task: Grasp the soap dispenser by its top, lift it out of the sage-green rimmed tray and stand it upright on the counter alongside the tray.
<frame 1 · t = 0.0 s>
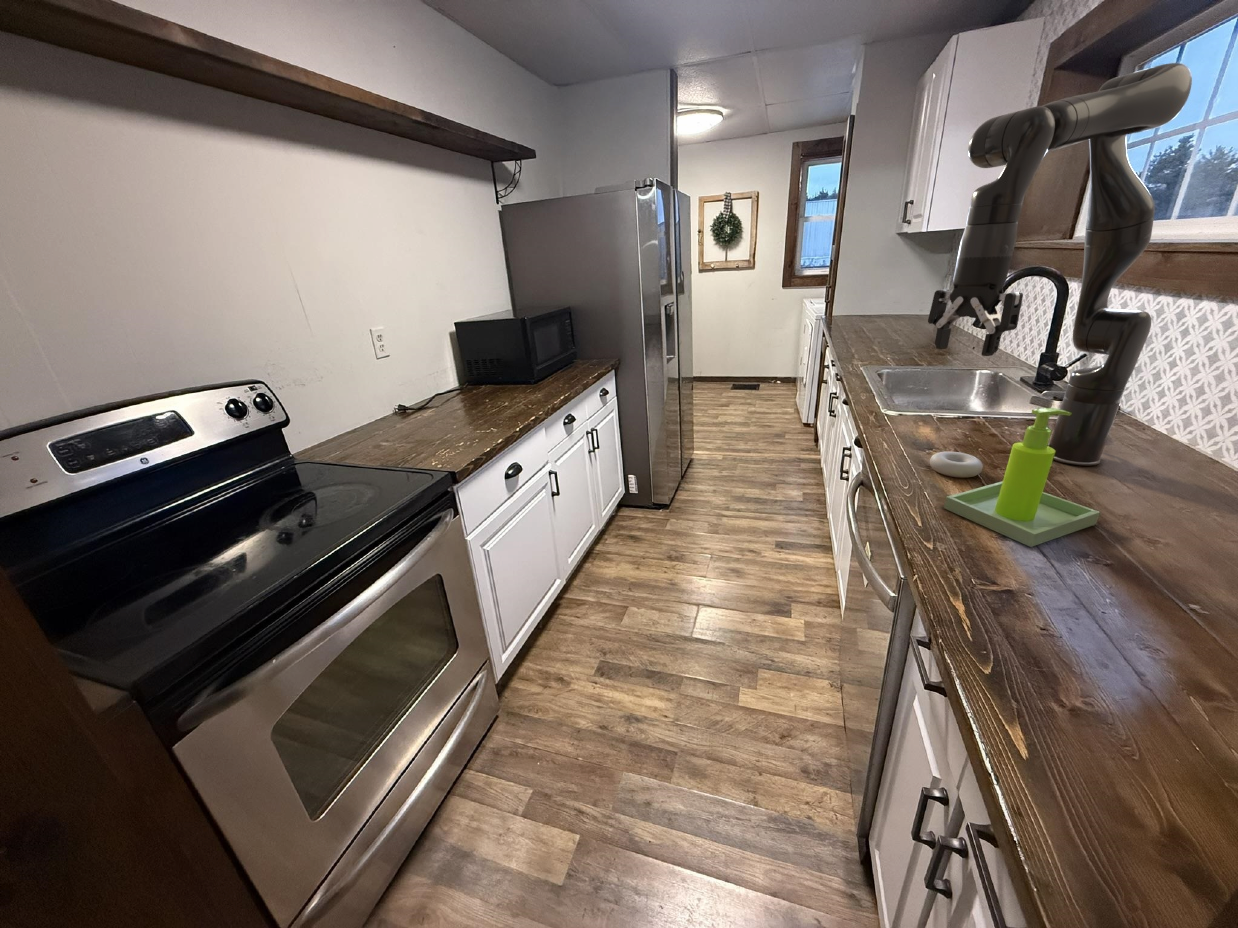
hand: (963, 352, 89), 29 cm above the worktop, tool pointing down, fingers open, 8 cm apart
soap dispenser: (1017, 514, 92), resting on tray
donut: (953, 471, 112), on the worktop
tray: (1016, 515, 92), on the worktop
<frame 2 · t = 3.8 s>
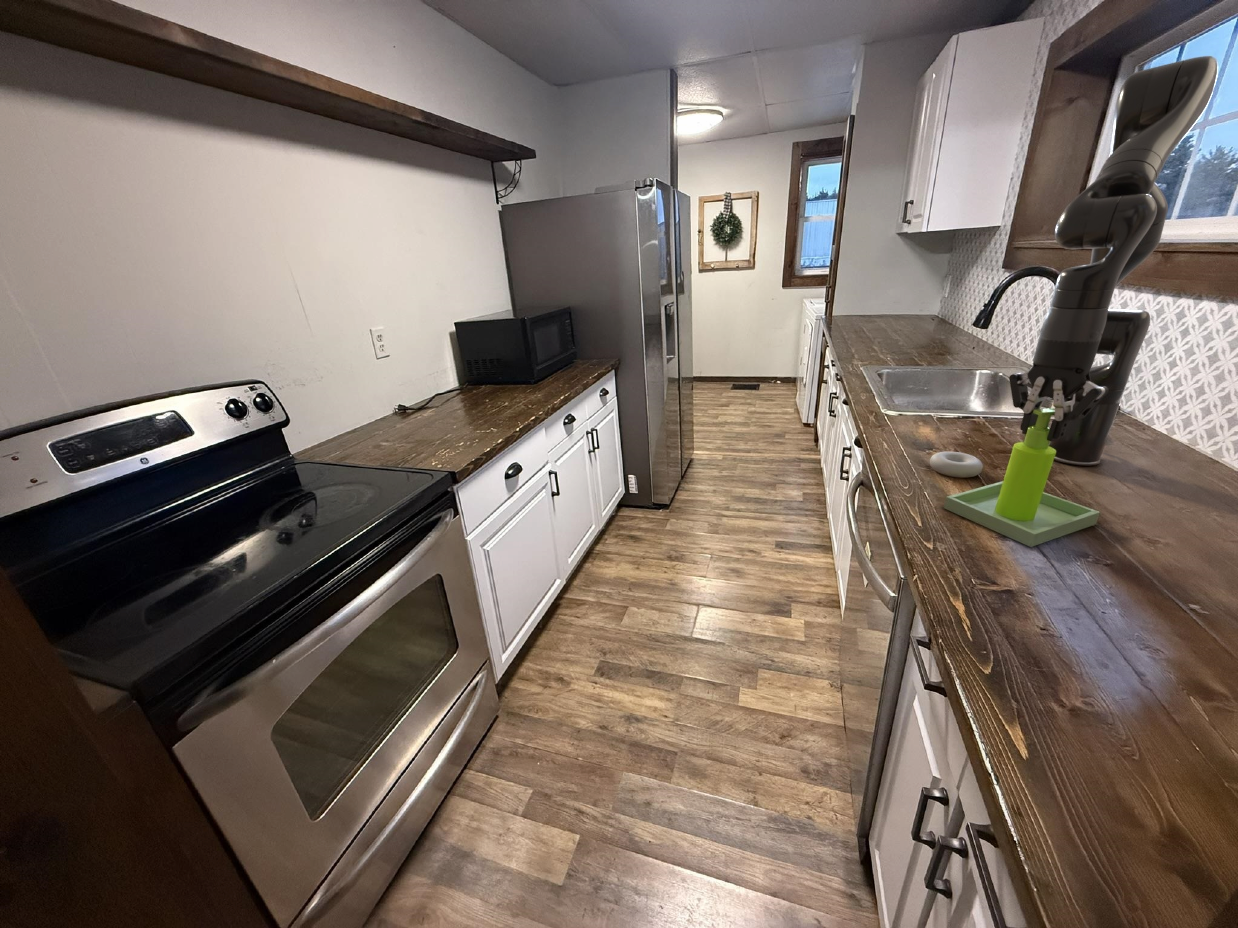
hand: (1039, 436, 86), 16 cm above the worktop, tool pointing down, fingers closed on soap dispenser, 3 cm apart
soap dispenser: (1017, 514, 92), resting on tray, touching gripper
everything else where it was.
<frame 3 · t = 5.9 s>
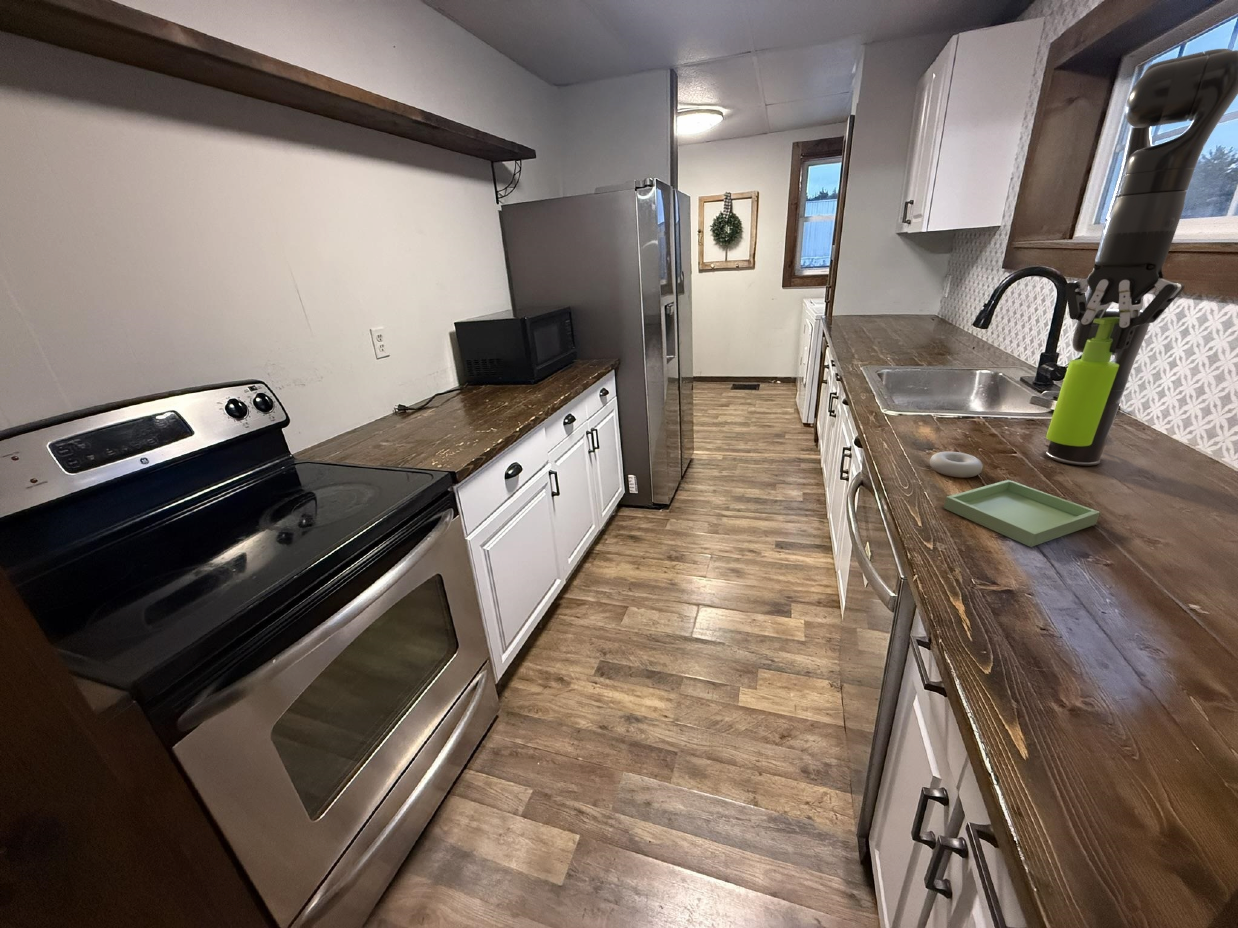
hand: (1100, 349, 78), 31 cm above the worktop, tool pointing down, fingers closed on soap dispenser, 3 cm apart
soap dispenser: (1071, 441, 84), point 16 cm above the worktop, touching gripper
everything else where it was.
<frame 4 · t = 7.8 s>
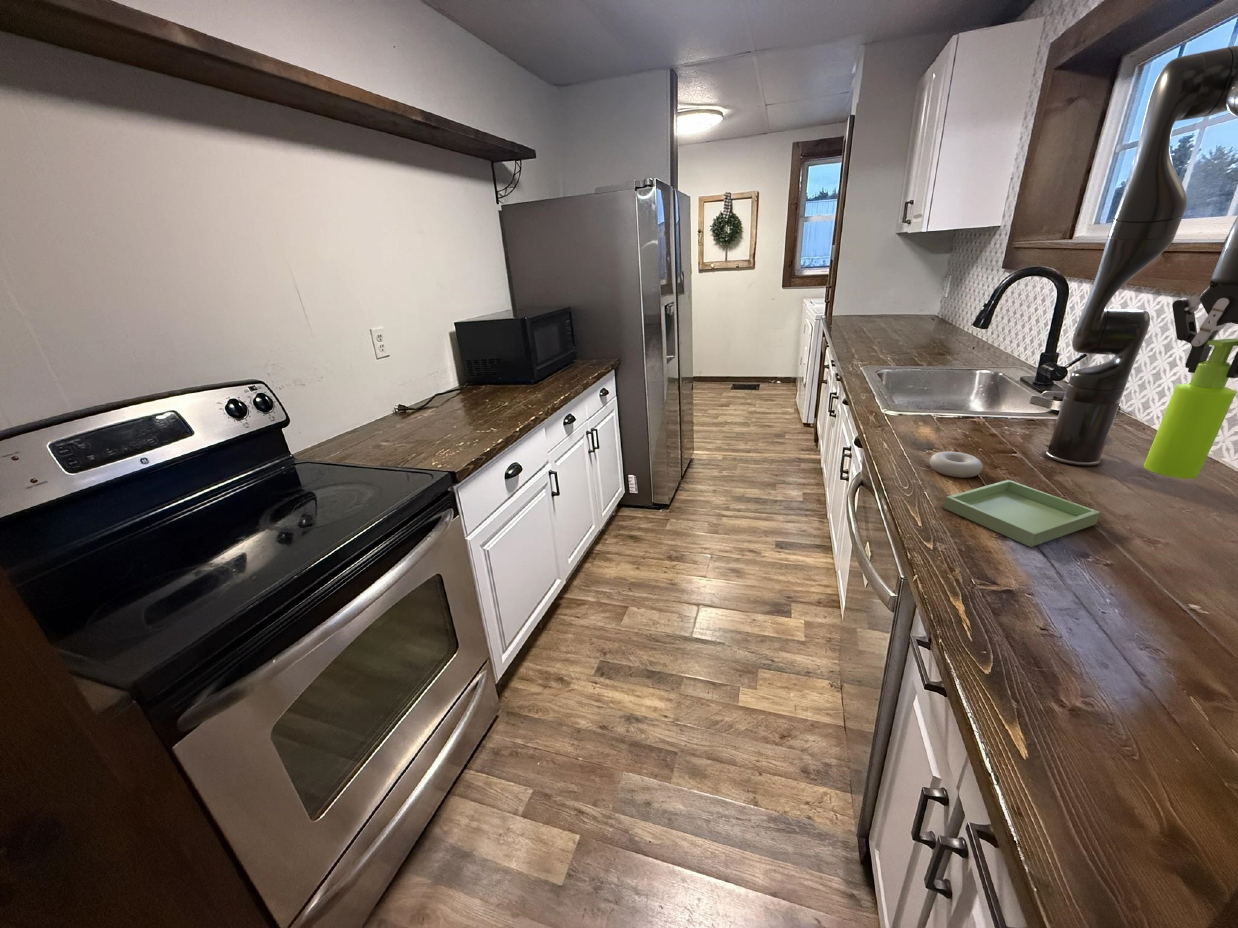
hand: (1213, 374, 71), 28 cm above the worktop, tool pointing down, fingers closed on soap dispenser, 3 cm apart
soap dispenser: (1173, 471, 77), point 13 cm above the worktop, touching gripper
everything else where it was.
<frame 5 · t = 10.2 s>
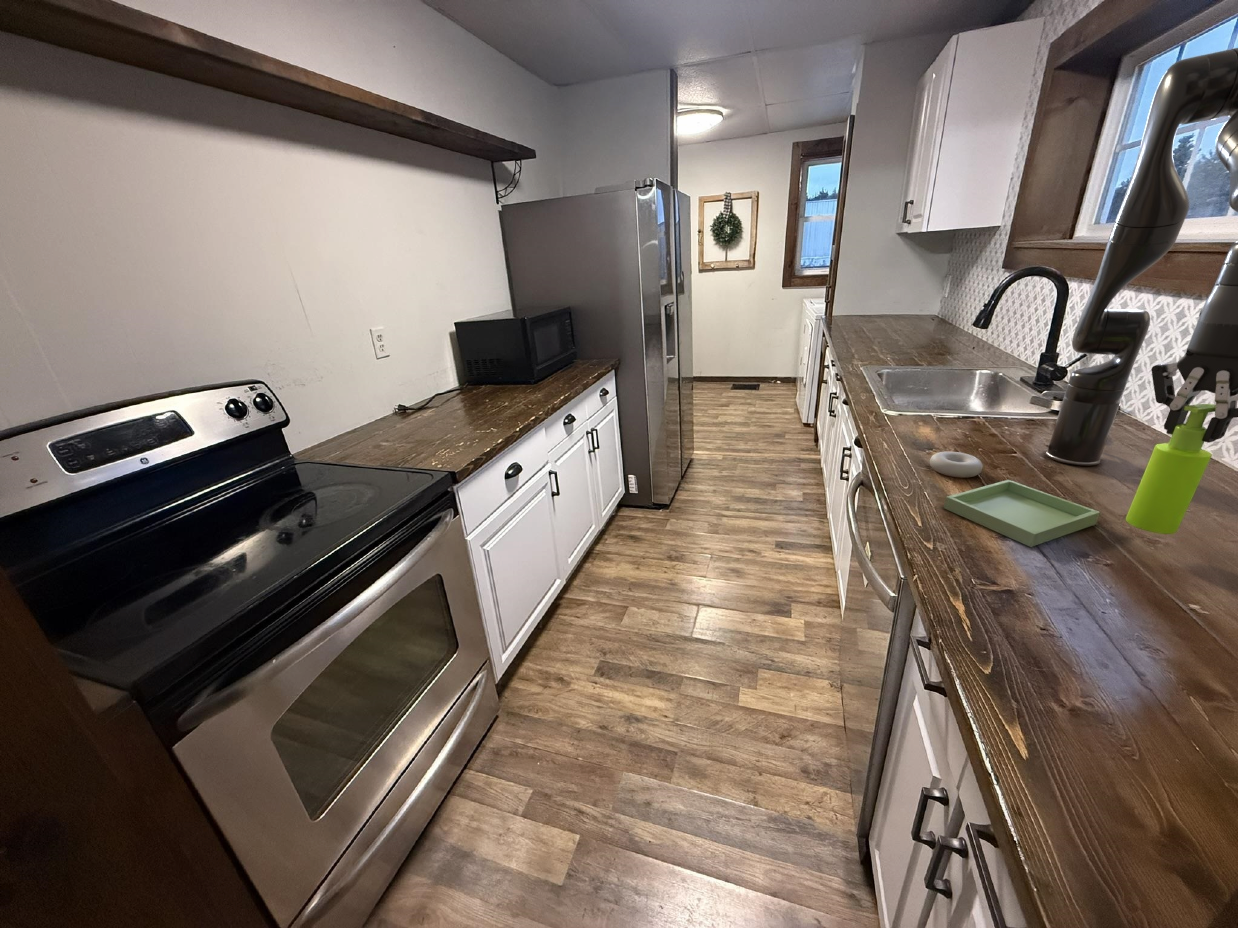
hand: (1190, 436, 75), 19 cm above the worktop, tool pointing down, fingers closed on soap dispenser, 3 cm apart
soap dispenser: (1153, 525, 80), point 4 cm above the worktop, touching gripper
everything else where it was.
when the fingers open (15 cm above the worktop, at t = 11.7 s): soap dispenser stays where it is, on the worktop.
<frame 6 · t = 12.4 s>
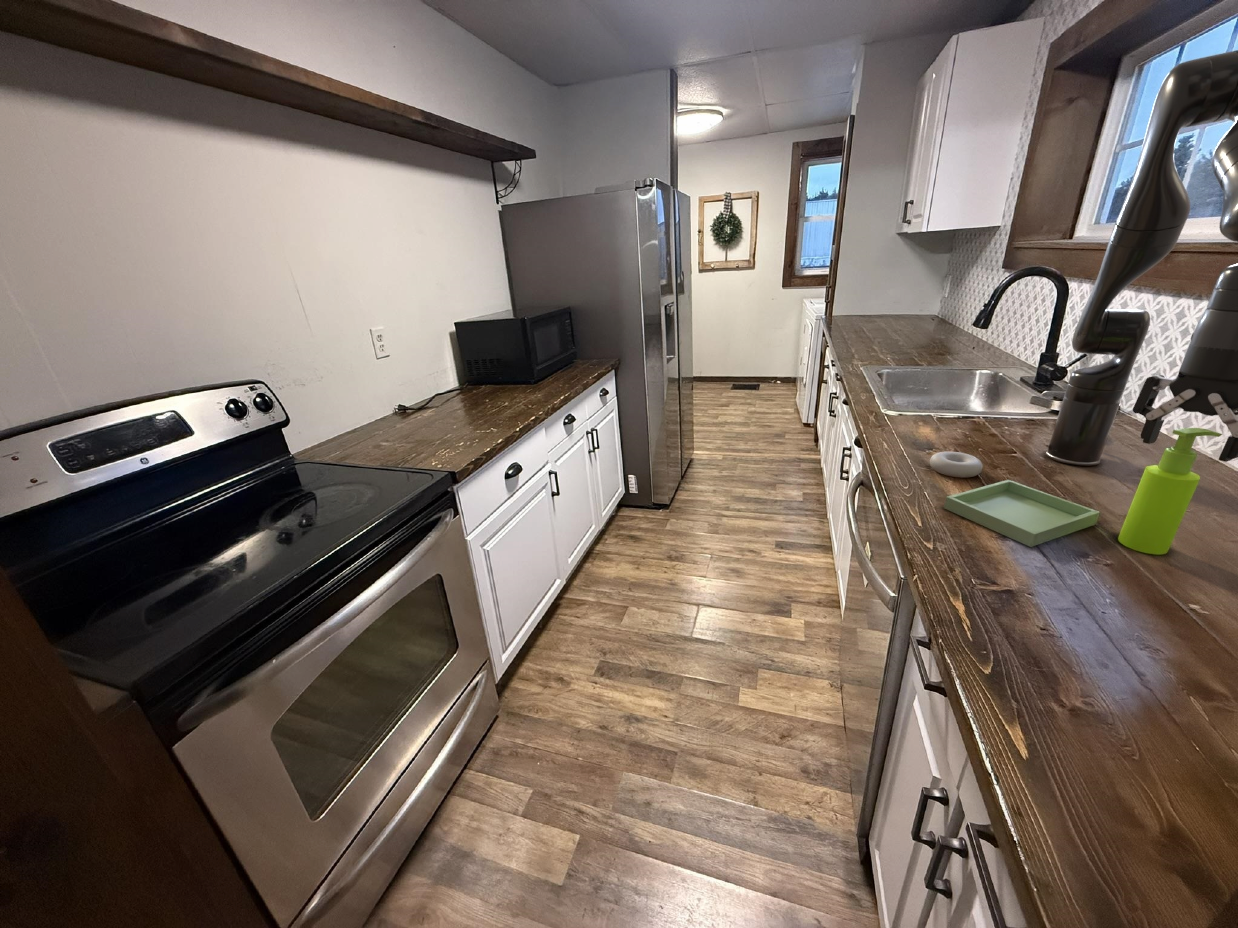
hand: (1184, 451, 75), 17 cm above the worktop, tool pointing down, fingers open, 8 cm apart
soap dispenser: (1145, 545, 82), on the worktop
everything else where it was.
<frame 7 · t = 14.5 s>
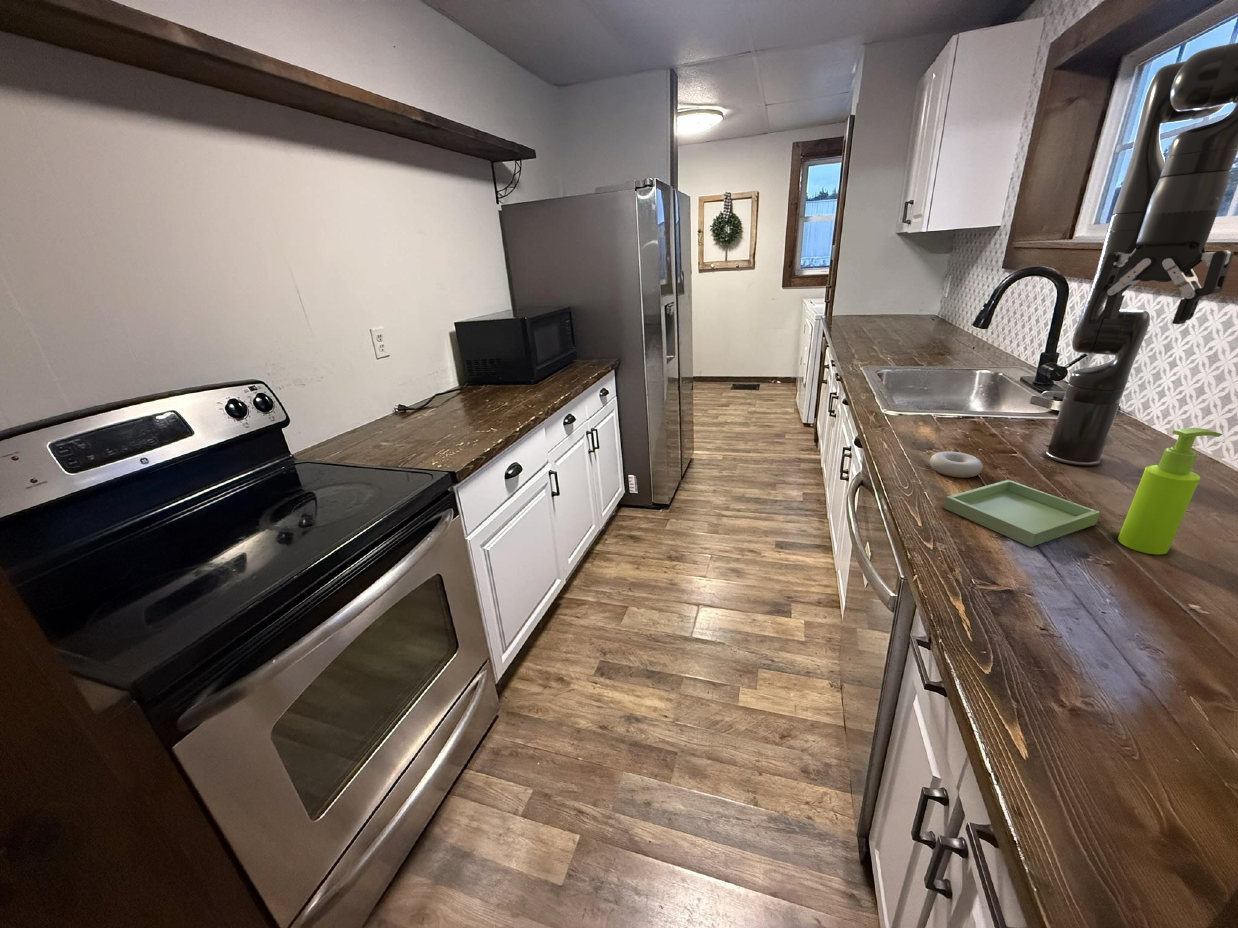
hand: (1142, 321, 80), 34 cm above the worktop, tool pointing down, fingers open, 8 cm apart
nothing on the worktop moved.
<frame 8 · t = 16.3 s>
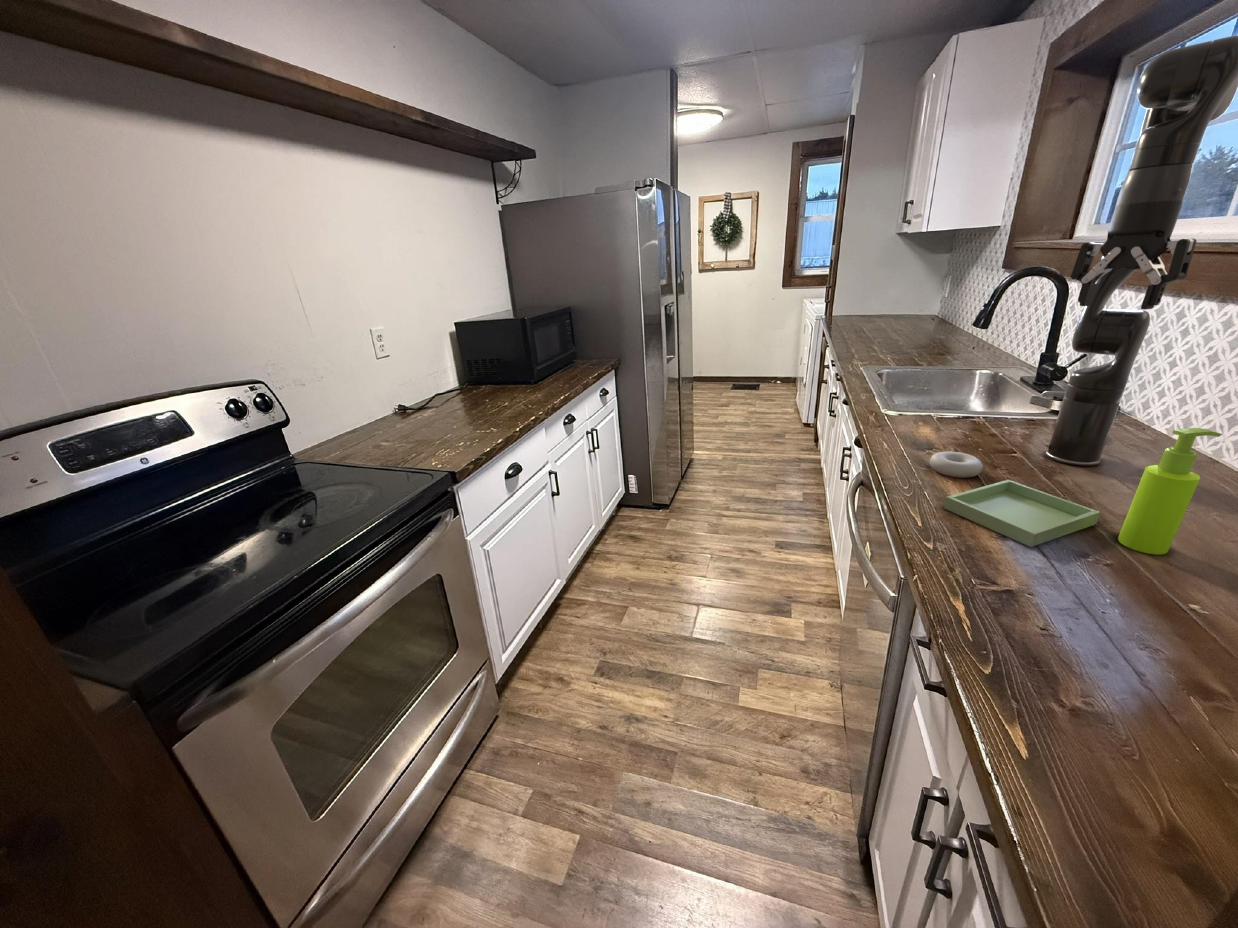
hand: (1114, 307, 85), 36 cm above the worktop, tool pointing down, fingers open, 8 cm apart
nothing on the worktop moved.
at the end: soap dispenser inside the target area (0.0 cm from its centre), on the worktop; soap dispenser tilted 0°; soap dispenser touching worktop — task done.
